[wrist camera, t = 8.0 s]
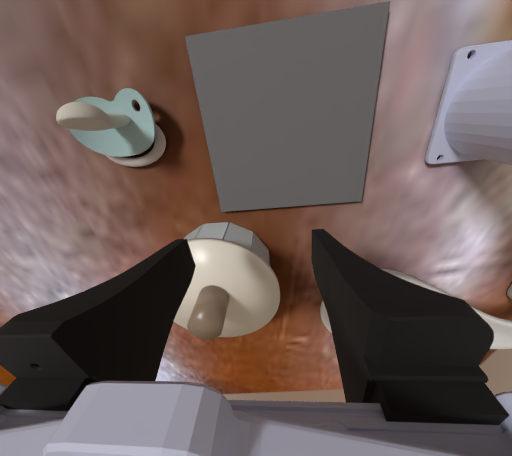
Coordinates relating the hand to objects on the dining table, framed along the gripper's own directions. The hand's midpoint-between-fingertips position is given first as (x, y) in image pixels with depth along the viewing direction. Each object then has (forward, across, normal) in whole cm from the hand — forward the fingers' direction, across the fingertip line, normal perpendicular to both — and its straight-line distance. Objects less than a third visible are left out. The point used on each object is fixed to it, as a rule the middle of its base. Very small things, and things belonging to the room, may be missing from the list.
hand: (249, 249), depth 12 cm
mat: (+10, -3, -5) cm, 12 cm away
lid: (+5, +5, +9) cm, 11 cm away
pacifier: (+11, +11, -7) cm, 17 cm away
